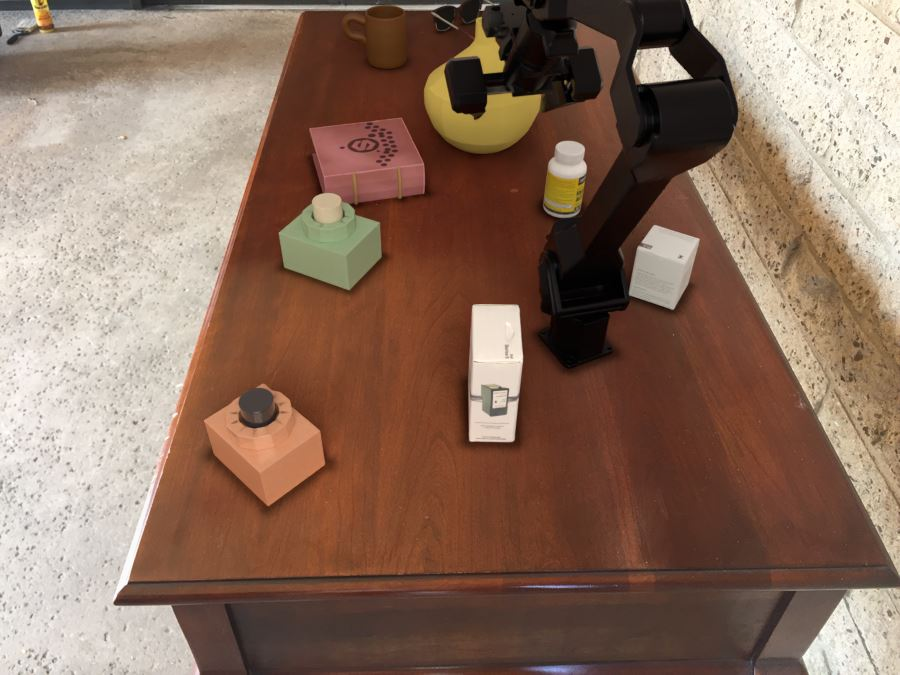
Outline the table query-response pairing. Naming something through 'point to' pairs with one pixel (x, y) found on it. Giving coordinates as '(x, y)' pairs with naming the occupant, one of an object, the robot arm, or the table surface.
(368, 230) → the green push button box
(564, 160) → the supplement bottle
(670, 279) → the white cardboard box
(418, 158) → the book
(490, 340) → the ink box
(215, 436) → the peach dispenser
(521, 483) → the table surface
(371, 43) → the mug
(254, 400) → the dark grey push button
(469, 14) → the sunglasses
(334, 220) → the beige push button
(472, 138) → the vase
